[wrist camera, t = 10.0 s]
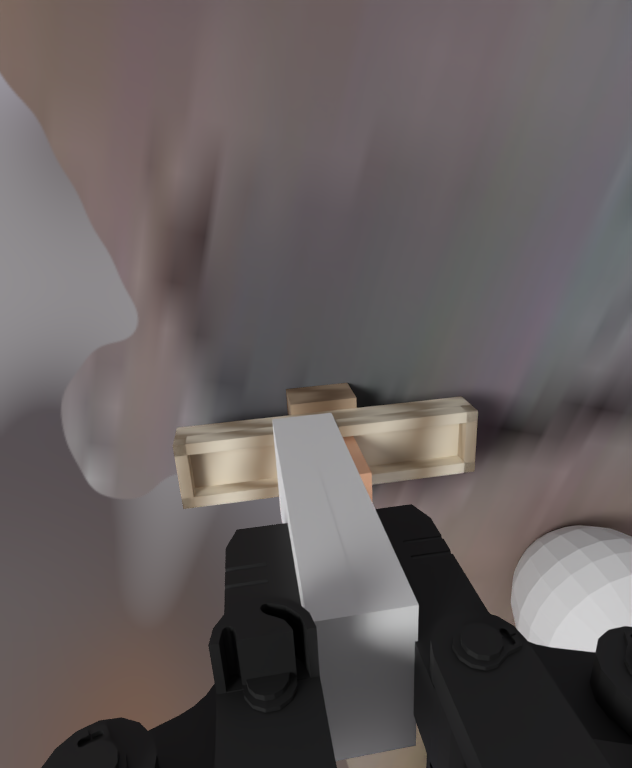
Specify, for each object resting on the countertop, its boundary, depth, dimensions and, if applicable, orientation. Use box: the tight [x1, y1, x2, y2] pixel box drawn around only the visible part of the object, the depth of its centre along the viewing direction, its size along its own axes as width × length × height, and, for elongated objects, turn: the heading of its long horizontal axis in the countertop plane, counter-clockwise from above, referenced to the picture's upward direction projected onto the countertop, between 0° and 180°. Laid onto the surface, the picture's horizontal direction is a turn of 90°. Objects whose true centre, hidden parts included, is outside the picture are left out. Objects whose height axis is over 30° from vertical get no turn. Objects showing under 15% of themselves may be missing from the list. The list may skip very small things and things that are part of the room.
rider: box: [343, 436, 372, 501], centre depth 42 cm, size 4×3×8 cm
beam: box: [173, 383, 478, 509], centre depth 47 cm, size 26×8×8 cm, turn 93°
